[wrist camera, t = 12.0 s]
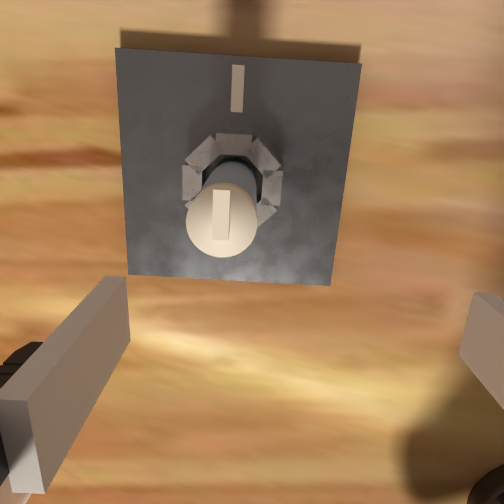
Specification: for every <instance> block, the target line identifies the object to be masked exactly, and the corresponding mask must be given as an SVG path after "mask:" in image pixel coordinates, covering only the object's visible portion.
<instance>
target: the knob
mask: <svg viewBox="0 0 504 504" xmlns="http://www.w3.org/2000/svg"><path fill="white" fill-rule="evenodd" d="M186 228H187V232H188V235H189V237H190V239H191V241H192V242H193V244H194V245H195V246H196V247H197V248H198V249H199V250H201V251H202V252H204V253H206V254H208V255H211V256H214V257H231V256H234V255H237V254H239V253H241V252H242V251H244V250H245V249H246V248H247V247H248V246H249V245H250V244H251V243H252V241H253V239H254V237H255V234H256V230H257V196H256V174H255V171H254V169H253V167H252V166H251V165H250V164H249V163H248V162H247V161H245V160H244V159H241V158H238V157H230V158H226V159H224V160H222V161H221V162H219V163H218V164H217V165H216V167H215V168H214V170H213V171H212V173H211V174H210V176H209V178H208V179H207V181H206V182H205V184H204V185H203V187H202V188H201V190H200V192H199V193H198V195H197V196H196V198H195V199H194V201H193V202H192V204H191V206H190V208H189V210H188V212H187V216H186Z"/></svg>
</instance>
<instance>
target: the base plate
mask: <svg viewBox="0 0 504 504" xmlns="http://www.w3.org/2000/svg"><path fill="white" fill-rule="evenodd" d="M115 57H116V74H117V91H118V107H119V124H120V141H121V158H122V175H123V192H124V208H125V225H126V242H127V259H128V275H145V276H163V277H181V278H198V279H216V280H234V281H252V282H270V283H287V284H305V285H323V286H330V282H331V276H332V269H333V262H334V255H335V248H336V241H337V234H338V227H339V220H340V213H341V206H342V199H343V192H344V185H345V178H346V171H347V164H348V157H349V150H350V143H351V136H352V130H353V123H354V116H355V109H356V102H357V95H358V88H359V81H360V74H361V67H362V64H359V63H344V62H329V61H313V60H298V59H282V58H267V57H251V56H236V55H220V54H205V53H189V52H174V51H158V50H143V49H127V48H115ZM230 157H238V158H241V159H244V160H245V161H247V162H248V163H249V164H250V165H251V166H252V167H253V169H254V171H255V174H256V196H257V230H256V234H255V237H254V239H253V241H252V243H251V244H250V245H249V246H248V247H247V248H246V249H245V250H244V251H242V252H241V253H239V254H237V255H234V256H231V257H214V256H211V255H208V254H206V253H204V252H202V251H201V250H199V249H198V248H197V247H196V246H195V245H194V244H193V242H192V241H191V239H190V237H189V235H188V232H187V228H186V216H187V212H188V210H189V208H190V206H191V204H192V202H193V201H194V199H195V198H196V196H197V195H198V193H199V192H200V190H201V188H202V187H203V185H204V184H205V182H206V181H207V179H208V178H209V176H210V174H211V173H212V171H213V170H214V168H215V167H216V165H217V164H218V163H219V162H221V161H222V160H224V159H226V158H230Z"/></svg>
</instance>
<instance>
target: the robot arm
mask: <svg viewBox="0 0 504 504" xmlns="http://www.w3.org/2000/svg"><path fill="white" fill-rule="evenodd" d="M129 342H130V327H129V314H128V301H127V288H126V277H116V276H105V277H104V278H103V279H102V280H101V281H100V282H99V283H98V284H97V286H96V287H95V288H94V289H93V290H92V291H91V292H90V293H89V294H88V295H87V296H86V297H85V298H84V300H83V301H82V302H81V303H80V304H79V305H78V306H77V307H76V308H75V309H74V310H73V311H72V312H71V313H70V315H69V316H68V317H67V318H66V319H65V320H64V321H63V322H62V323H61V324H60V325H59V326H58V327H57V329H56V330H55V331H54V332H53V333H52V334H51V335H50V336H49V337H48V338H47V339H46V340H45V341H44V342H30V343H29V344H27V345H25V346H23V347H22V348H20V349H18V350H16V351H15V352H14V353H13V354H12V355H11V356H10V357H9V358H8V359H7V360H6V361H5V362H3V365H0V486H1V485H2V483H3V482H4V480H5V479H6V477H7V476H8V475H9V479H10V484H11V488H12V492H13V493H34V494H45V492H46V491H47V489H48V487H49V485H50V483H51V482H52V480H53V478H54V476H55V474H56V473H57V471H58V469H59V467H60V465H61V464H62V462H63V460H64V458H65V457H66V455H67V453H68V451H69V449H70V448H71V446H72V444H73V442H74V440H75V439H76V437H77V435H78V433H79V431H80V430H81V428H82V426H83V424H84V422H85V421H86V419H87V417H88V415H89V414H90V412H91V410H92V408H93V406H94V405H95V403H96V401H97V399H98V397H99V396H100V394H101V392H102V390H103V388H104V387H105V385H106V383H107V381H108V379H109V378H110V376H111V374H112V372H113V371H114V369H115V367H116V365H117V363H118V362H119V360H120V358H121V356H122V354H123V353H124V351H125V349H126V347H127V345H128V344H129ZM458 355H459V356H460V358H461V359H462V360H463V361H464V363H465V364H466V365H467V366H468V367H469V369H470V370H471V371H472V372H473V373H474V375H475V376H476V377H477V378H478V379H479V381H480V382H481V383H482V384H483V386H484V387H485V388H486V389H487V390H488V392H489V393H490V394H491V395H492V396H493V398H494V399H495V400H496V401H497V402H498V404H499V405H500V406H501V407H502V409H503V410H504V300H503V299H501V298H500V297H499V296H498V295H496V294H495V293H481V292H474V294H473V298H472V302H471V306H470V310H469V314H468V317H467V321H466V325H465V329H464V333H463V336H462V340H461V344H460V348H459V352H458ZM468 504H504V466H502V467H500V468H498V469H496V470H495V471H493V472H491V473H490V474H488V475H487V476H486V477H485V478H483V479H482V480H481V481H480V482H479V483H478V484H477V486H476V487H475V488H474V490H473V491H472V493H471V495H470V497H469V500H468Z"/></svg>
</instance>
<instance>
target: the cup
mask: <svg viewBox="0 0 504 504" xmlns="http://www.w3.org/2000/svg"><path fill="white" fill-rule="evenodd" d="M30 495H31V493H13V492H12V488H11V484H10V479H9V475H8V476H7V477H6V479H5V480H4V482H3V483H2V485H1V486H0V504H25V503H26V502H27V500H28V499H29V497H30Z"/></svg>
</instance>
